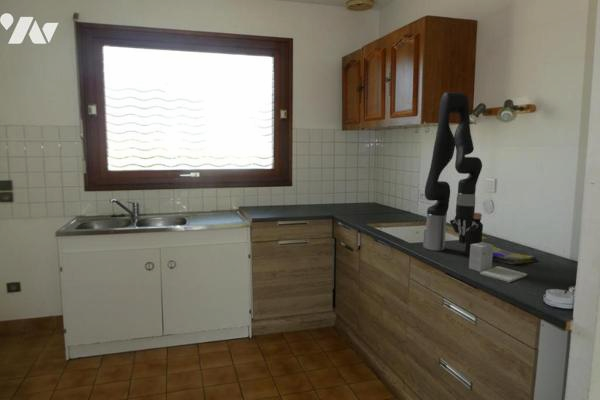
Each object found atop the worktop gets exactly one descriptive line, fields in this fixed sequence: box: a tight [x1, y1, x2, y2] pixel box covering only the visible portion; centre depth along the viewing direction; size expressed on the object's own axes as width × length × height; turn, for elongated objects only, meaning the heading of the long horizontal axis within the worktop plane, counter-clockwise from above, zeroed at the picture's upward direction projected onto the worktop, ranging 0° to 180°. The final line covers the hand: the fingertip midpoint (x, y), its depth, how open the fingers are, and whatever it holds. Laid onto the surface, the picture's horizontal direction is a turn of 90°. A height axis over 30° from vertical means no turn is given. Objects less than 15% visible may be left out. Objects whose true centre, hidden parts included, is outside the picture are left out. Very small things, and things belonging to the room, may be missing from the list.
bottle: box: [464, 212, 484, 258], centre depth 199 cm, size 7×7×20 cm
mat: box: [479, 265, 528, 283], centre depth 172 cm, size 12×14×1 cm
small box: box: [468, 241, 494, 273], centre depth 180 cm, size 8×6×10 cm
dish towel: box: [492, 245, 538, 266], centre depth 200 cm, size 18×24×3 cm
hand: (462, 243), depth 186 cm, fingers closed
